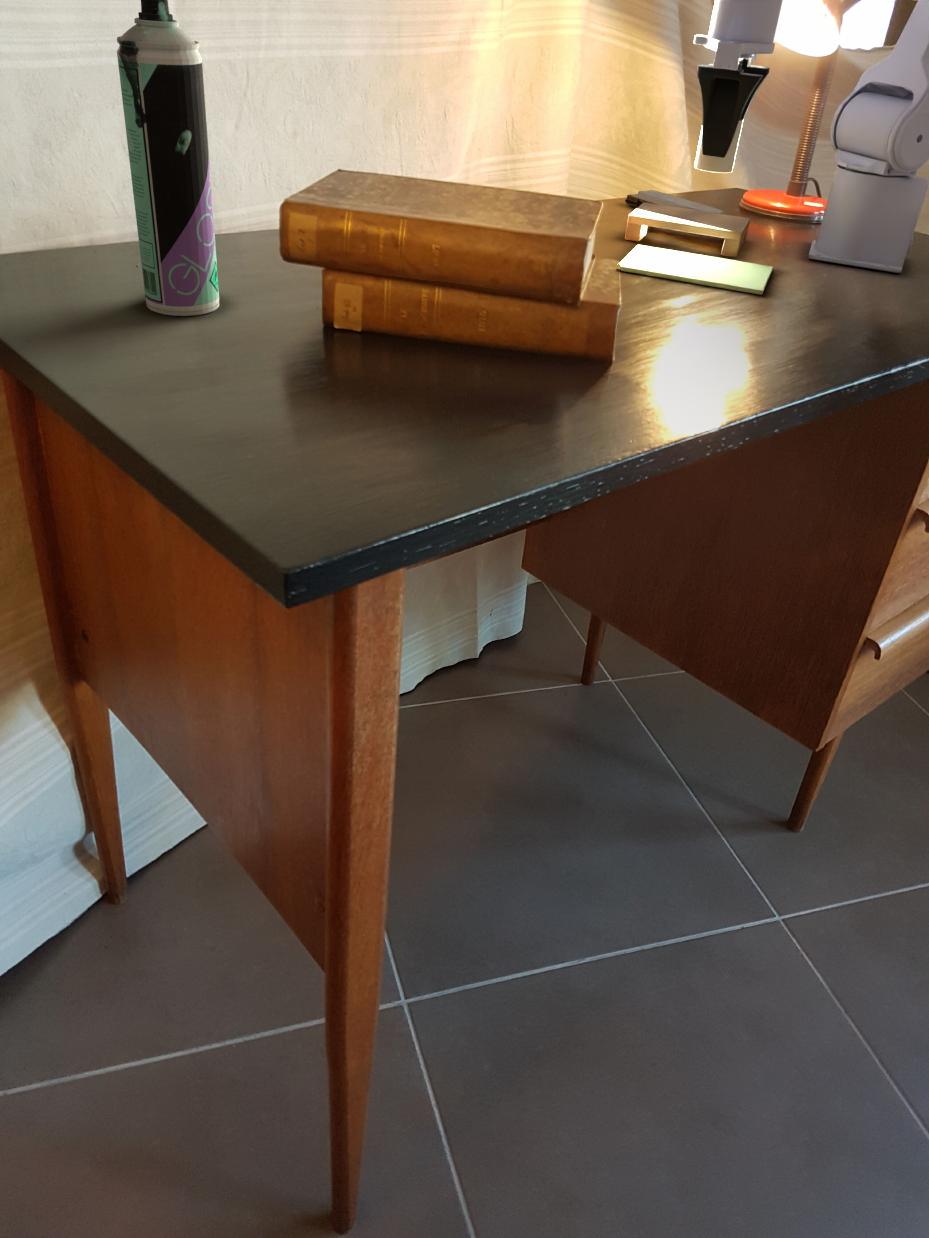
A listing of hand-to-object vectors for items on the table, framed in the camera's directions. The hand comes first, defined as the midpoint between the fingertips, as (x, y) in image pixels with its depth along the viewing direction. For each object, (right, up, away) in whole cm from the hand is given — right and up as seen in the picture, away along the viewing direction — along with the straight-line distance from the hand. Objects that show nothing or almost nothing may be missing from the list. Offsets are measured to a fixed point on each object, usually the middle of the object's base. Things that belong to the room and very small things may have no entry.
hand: (716, 153), depth 90 cm
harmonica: (+1, +4, +24) cm, 24 cm away
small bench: (0, -3, +14) cm, 15 cm away
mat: (-1, -10, +4) cm, 11 cm away
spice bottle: (0, -1, +1) cm, 1 cm away
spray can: (-46, -20, -16) cm, 52 cm away
